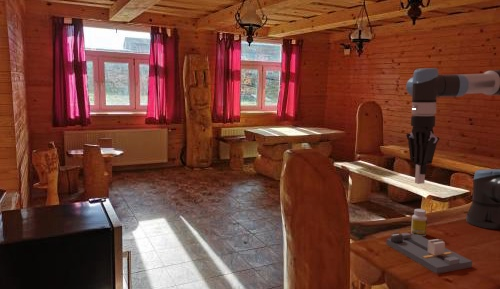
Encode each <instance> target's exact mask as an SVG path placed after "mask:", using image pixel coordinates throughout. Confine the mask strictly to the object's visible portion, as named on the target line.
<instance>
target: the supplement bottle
mask: <svg viewBox="0 0 500 289" xmlns="http://www.w3.org/2000/svg"><path fill="white" fill-rule="evenodd" d="M426 211H427V210H425V209H423V208H415V209H414V212H413V213H414V214H412V216H411V228H410V229H411V230H410V234H411V235H417V234H418V235H420V236H422V237H425V236H427V228H428V227H427V225H428V217H427V215H426V214H427V212H426Z"/></svg>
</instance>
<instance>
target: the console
mask: <svg viewBox="0 0 500 289" xmlns="http://www.w3.org/2000/svg"><path fill="white" fill-rule="evenodd" d="M428 240H429V239H428V238H426V237H425V236H423V237H422V236H420V235H418V234H417V235H413V234H411V233H409V232H402V233H398V232H391V234H390V238H386V244H385V245H387V246H389V247H391V248H392V249H394V250H395V251H397V252H398V253H401V255H404V256H406V257H407V258H409V259H411V260H412V261H414V262H416V263H417V264H419V265H421V266H423V267H424V268H426V269H427V270H429V271H431V272H432V273H435V274H443V273H447V272H448V273H449V272H453V271H458V270H465V269H468V268H469V269H470V268H473V267H472V266H473V260H470V259H469V258H467V257H464V256H463V255H461V254H459V253H456V252H454V251H452V250H450V249H448V248H447V247H445V249H444V254H440V255H433V254H431V253H429V252H428Z"/></svg>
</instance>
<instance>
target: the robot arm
mask: <svg viewBox="0 0 500 289" xmlns="http://www.w3.org/2000/svg"><path fill="white" fill-rule="evenodd" d="M438 69H439V68H436V67H435V68H433V67H432V68H425V67H424V68H417V69H415V70H414V71H413V75H412V77H410V78H409V79H408V80H407V82H406V86H405V87H406V91H407V94H409V95H410V96H411V97H412V98H411V116H410V126H412V130H411V132H410V133H406V135H405V136H406V138H407V143H408V144H407V145H408V149H409V150H408V151H409V158H410V161H411V162H413V164H414V174H415V178H414V183H415V184H418V185H419V184H420V185H421V184H422V185H423V184H425V180H426V178H425V177H426V174H427V165H428V166H429V165H431V164H432V163H433V160H434V156H435V152H436V148H437V144H438V142H439V141H440V137H439V136H436V135H434V127H436V116H435V115H436V114H437V100H438V98H456V97H457V98H459V97H463V96H464V95H470V94H471V95H472V94H473V95H474V94H483V95H486V96H500V69H496V70H487V71H484V72H483V73H469V74H468V73H467V74H463V73H461V74H457V73H456V74H440V73H439V70H438ZM472 180H473V181H472V182H473V183H472V197H471V198H472V199H471V200H472V201H471V205H470V207H469V209H468V211H467V213H466V216H465V221H466V222H467V223H468V224H470V225H472V226H476V227H478V228H479V227H480V228H482V229H483V228H484V229H490V230H500V169H499V168H497V169H496V168H494V169H493V168H484V169H477V170H475V172H474V176H473V179H472Z"/></svg>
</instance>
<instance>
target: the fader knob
mask: <svg viewBox="0 0 500 289" xmlns="http://www.w3.org/2000/svg"><path fill="white" fill-rule="evenodd" d="M445 248H446V242H445V241H443V239H439V238H436V239H435V238H434V239H428V252H429V253H431V254H433V255H440V254H444V249H445Z"/></svg>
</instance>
